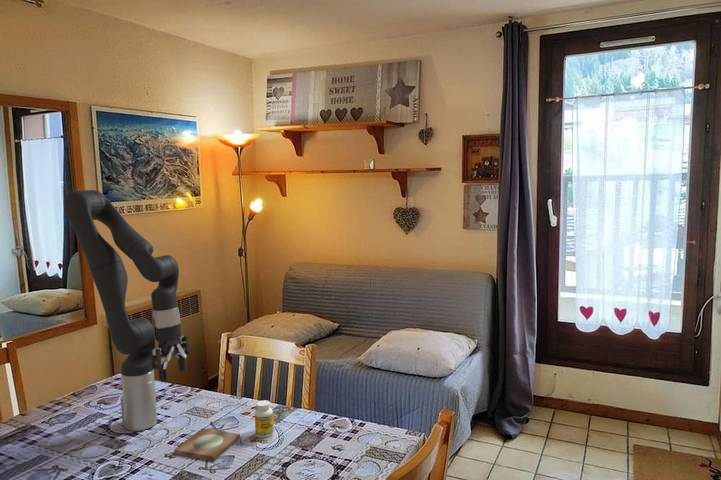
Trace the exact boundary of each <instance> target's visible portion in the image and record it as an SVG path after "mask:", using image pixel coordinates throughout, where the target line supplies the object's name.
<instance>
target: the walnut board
mask: <svg viewBox="0 0 721 480" xmlns="http://www.w3.org/2000/svg"><path fill="white" fill-rule="evenodd" d="M240 439H241V434H240V433H234V432H229V431H222V430H219V429H218V430H217V429H211V428H210V429H209V428H205V427H202V428H201V429H199V430H198V431H197V432H195V433H194V434H192V436H190V437H189V438H187V439H186V440H184V441H183V442H182V443H181V444H180V445H178V446H177V447H176V448H175V449H174V450H173V451H174V454H175V455H180V456H181V455H182V456H186V457H192V458H197V459H201V460H202V459H203V460H208V461H213V462H215V461H216V460H218V459H219V458H220V456H222V455H224V454H225V452H226V451H227V450H229V449H230V448H231V447H232V446H234V444H235V443H237V442H238V441H239V440H240Z"/></svg>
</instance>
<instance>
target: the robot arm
mask: <svg viewBox="0 0 721 480" xmlns="http://www.w3.org/2000/svg"><path fill="white" fill-rule="evenodd" d="M63 207H64V211H65V215H66V217H67V219H68V221H69V223H70V225H71V227H72V230H73V232H74V234H75V236H76V238H77V239H78V242H79V244H80V246H81V247H80V248H81V249H82V253H83V254H84V257H85V259H86V262H87V265H88V268H89V272H90V274H91V278H92V280H93V282H94V284H95V288H96V289H97V292H98V295H99V298H100V302H101V304H102V308H103V311H104V313H105V318H106V322H107V326H108V330H109V331H108V332H109V334H110V337H111V340H112V344H113V345H114V348H115V349H116V350H117V351H118V352H119V353H121V354H122V355H128V356H127V357H126V358H125V359H124V360H123V362H122V363H121V366H120V375H121V377H120V378H121V389H122V395H121V396H120V407H121V408H120V409H121V421H122V427H124V428H125V429H126V430H128V431H132V432H136V431H137V432H138V431H145V430H148V429H150V428H152V427H154V426H155V425H157V422H158V415H157V414H158V413H157V398H156V397H157V396H156V384H155V383H156V381H155V370H157V371H158V377H159V381H160V382H165V383H166V382H167V381H168V380H169V377H168V376H169V375H168V370H167V369H168V368H167V366H168V363H169V362H170V360H171V359H172V358H173V357H174V356H176V358H178V359H177V363H178V364H177V365H178V370H179V371H180V372H185V371H187V368H188V367H187V356H188V355H190V354H191V348H190V342H189V336H188V335H183V330H182V322H181V314H180V310H179V306H178V296H177V290H178V283H179V275H180V273H179V272H180V268H179V265H178V262H177V260H176V258H175V257H173V256H172V255H170V254H169V255H168V254H165V255H160V256H153V253H154V247H153V245H152V244H151V242H149V240H147V239H146V238H145V237H143V236H142V235H141V234H140V233H139V232H137V231H136V230H135V229H134V228H133V227H132V226H131V225H130V223H128V221H127V220H125V218H124V217H123V216H122V214H121V213H120V212H119V211H118V209H116V207H115V206H114V205H113V203H112V202H111V201H110V200H109V199H108V198H107V196H105V194H103V193H102V192H101V191H98V190H95V189H94V190H93V189H87V190H86V189H85V190H83V189H82V190H73V191H72V190H71V191H69V192H67V193H66V194H65V197H64V199H63ZM95 220H96V221H98V222H100V223H102V224H103V225H104V226H105V227H107V229H109V231H110V233H111V236H112V240H113V242H114V244H115V245H116V247H117V248H118V249H119V250H120V251H121V252H122V253H123V254H124V255H125V256H127V257H128V258H129V259H130V260H132V262H133V264H134V265H135V267H136V269H137V271H138V272H139V273H140V275H141V277H143V278H144V279H145V280H147V281H149V282H151V283H158V285H157V287H156V288H155V289H154V290H153V291H151V296H150V297H151V298H150V299H151V305H152V306H151V307H152V321H153V324H152V322H151V321H150V320H149V319H148V318H145V317H138V318H134V319H131V320H130V317H129V314H128V311H127V307H126V296H127V291H128V281H129V280H128V278H129V277H128V272H127V270H126V267H125V264H124V261H123V259H122V257H121V255H120V254H119V252H118V251H117V250H116V249H115V248H114V247H113V246H112V245H111V244H110V242H108V241H107V240H106V239H105V238H104V237H103V236H102V235H101V234H100V232H99V230H98V228H97V226H96V224H95V222H94V221H95ZM156 341H157V343H158V346H157V348H156Z"/></svg>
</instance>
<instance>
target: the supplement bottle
mask: <svg viewBox="0 0 721 480" xmlns="http://www.w3.org/2000/svg"><path fill="white" fill-rule="evenodd" d="M255 404H256V406H255V407H256V409H255V411H254V424H255V425H254V426H255V427H254V428H255V429H254V430H255V435H256V437H258V438H268V437H271V436H272V435H273V434H274V432H275V427H274V426H275V425H274V411H273V409H272V408H271V402H270V401H269V400H265V399H264V400H259V401H257V402H256V403H255Z"/></svg>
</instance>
